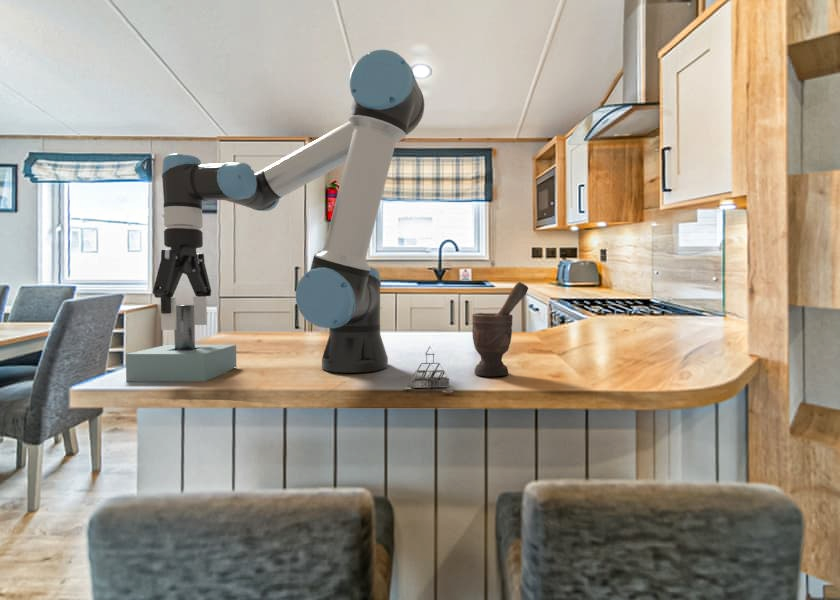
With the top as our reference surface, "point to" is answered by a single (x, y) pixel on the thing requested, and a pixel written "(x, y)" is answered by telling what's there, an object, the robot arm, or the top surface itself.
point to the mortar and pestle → (495, 335)
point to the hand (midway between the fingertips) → (185, 327)
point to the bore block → (180, 363)
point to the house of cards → (431, 380)
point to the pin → (184, 328)
